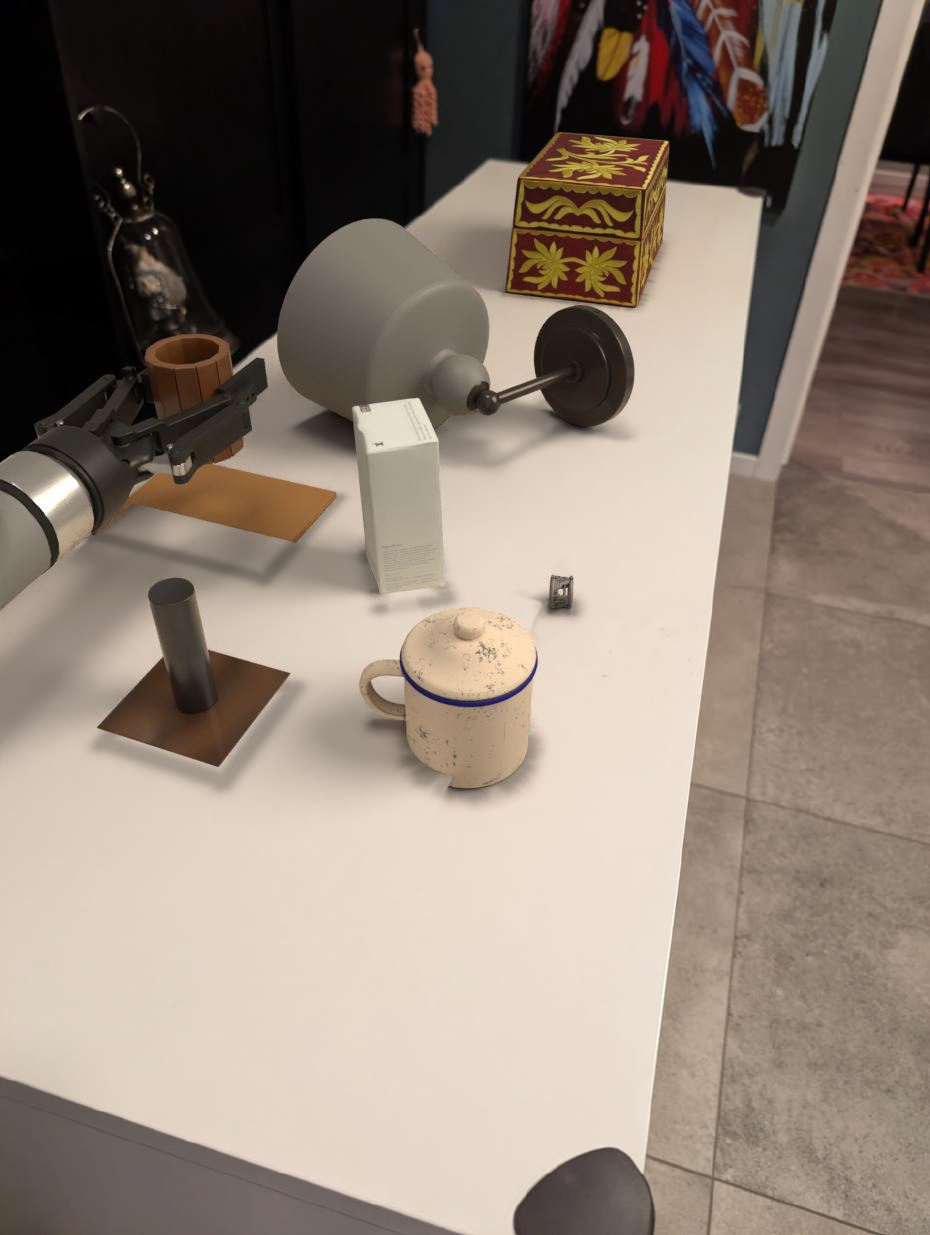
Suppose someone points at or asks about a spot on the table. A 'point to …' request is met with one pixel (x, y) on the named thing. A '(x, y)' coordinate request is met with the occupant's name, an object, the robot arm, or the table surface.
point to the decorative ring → (563, 583)
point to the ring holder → (192, 686)
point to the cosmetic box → (400, 494)
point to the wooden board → (236, 501)
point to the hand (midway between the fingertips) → (225, 365)
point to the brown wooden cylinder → (189, 376)
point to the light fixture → (430, 336)
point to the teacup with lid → (463, 693)
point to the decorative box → (589, 219)
